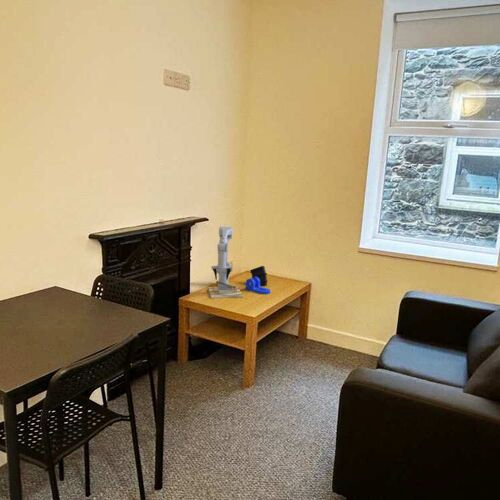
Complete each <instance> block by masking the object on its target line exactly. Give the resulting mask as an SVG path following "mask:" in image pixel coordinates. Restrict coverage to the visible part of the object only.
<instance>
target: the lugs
mask: <svg viewBox="0 0 500 500" xmlns="http://www.w3.org/2000/svg"><path fill="white" fill-rule="evenodd" d="M233 286H236V287H237V285H233ZM212 288H213V293H215V288H216V286H212ZM233 291H234V293H237V288H233Z"/></svg>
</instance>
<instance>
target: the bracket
mask: <svg viewBox="0 0 500 500" xmlns="http://www.w3.org/2000/svg"><path fill="white" fill-rule="evenodd" d="M255 281H256V282H255ZM245 291H249V292H253V293H257V294H259V295H269V294H271V289H270V288H266V287H264V286H263V287H262V286H261V285H260V279H259V278H258V277H253V278H252V277H251V278H250V277H249V278H248V279H246V281H245Z"/></svg>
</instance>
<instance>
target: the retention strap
mask: <svg viewBox="0 0 500 500" xmlns="http://www.w3.org/2000/svg"><path fill="white" fill-rule="evenodd" d="M215 284H216V285H218V284H222V285H225V286H228V287H232V288H236V287H237V285H236V286H234V285H231V284H229V283H228V284H229V285H228V284H225V283H222V282H219V280H216V282H215Z"/></svg>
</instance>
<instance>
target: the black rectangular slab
mask: <svg viewBox="0 0 500 500" xmlns="http://www.w3.org/2000/svg"><path fill="white" fill-rule="evenodd" d="M249 273H250V274H251V278H253V277H258V278H259V279H260V286H261V287H262V286H263V287H267V285H268V283H269V282H268V277H267V275H268V273H267V272H266V266H264V265H260V266H258V267H255V268H252V269H250V271H249ZM255 282H256V281H255Z"/></svg>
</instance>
